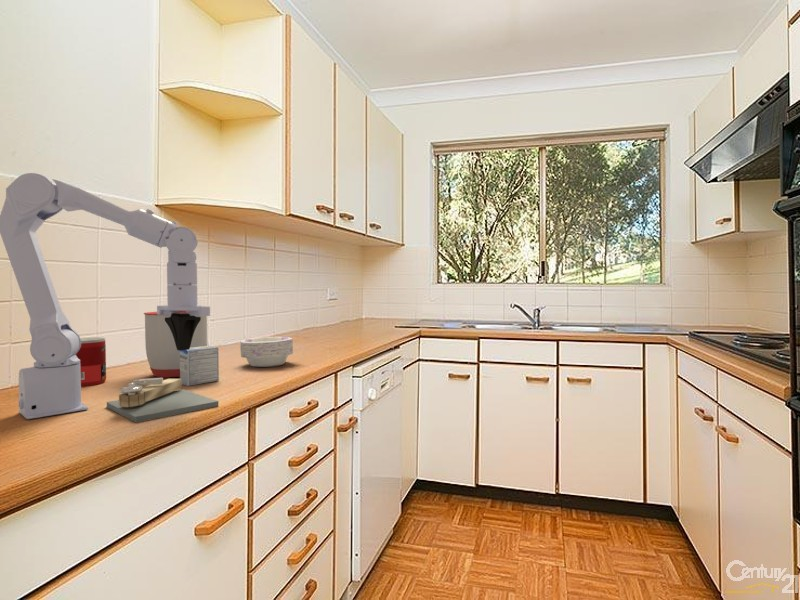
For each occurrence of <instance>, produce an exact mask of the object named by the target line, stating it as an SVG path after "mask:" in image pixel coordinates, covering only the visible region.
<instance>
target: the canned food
mask: <svg viewBox="0 0 800 600" xmlns="http://www.w3.org/2000/svg"><path fill="white" fill-rule="evenodd" d="M80 338H81V347H80V349H79V351H78V352H77V353H76V354H75V355H76V356H77V358H78V359H80V371H81V387H90V386H96V385H101V384H104V383H105V382H106V380H107V349H106V344H107V343H106V338H105V337H93V336H92V337H80Z"/></svg>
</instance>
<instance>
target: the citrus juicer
mask: <svg viewBox="0 0 800 600" xmlns="http://www.w3.org/2000/svg"><path fill="white" fill-rule="evenodd" d="M177 313H191V312H186V311H180V312H177ZM143 315H144V334H145V335H144V336H145V337H144V341H145V352H146V360H147V362H148V364H149V369H150V372H151V374H152V376H154V377H156V378H163V379H172V378H177V377H179V378H180V350H177V348H176V344H175V341H174V337H173V335H172V332H171V330H170V328H169V326H168V325H167V323H166V322H165V318H166V317H170V316H171V315H164V314H163V315H157V311H147V312H144V313H143ZM196 317H201V320H200V322H199V323H198V325H197V327H196V329H195V332H194V334H193V338H192V342H191V346H190V348H192V347H201V346H208V316H196Z"/></svg>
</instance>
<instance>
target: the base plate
mask: <svg viewBox="0 0 800 600" xmlns="http://www.w3.org/2000/svg"><path fill="white" fill-rule="evenodd" d="M215 407H217V408H218V407H219V400H216V399H213V398H211V397H208V396H205V395H202V394H199V393H195V392H192V391H190V390H187V389H178V390H175V391H173V392H170V393H168V394H165V395H162V396H160V397H157V398H155V399H152V400H150V401H147V402H145V403H144V404H142V405H138V406H136V407H133V408H128V407H120V406H119V399H117V400H116V399H115V400H112V401H106V408H108V409H110V410H111V411H113V412H115V413H117V414H118V415H121V416H122V417H125V418H126V419H128V420H129V421H132V422H134V423H140V422H145V421H150V420H155V419H160V418H165V417H166V418H167V417H169V416H170V417H171V416H175V415H181V414H185V413H190V412H195V411H200V410H205V409H210V408H215Z"/></svg>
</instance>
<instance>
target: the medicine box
mask: <svg viewBox="0 0 800 600" xmlns="http://www.w3.org/2000/svg"><path fill="white" fill-rule="evenodd" d="M219 357H220V356H219V347H218V346H214V345H207V346H201V347H192V348H190V349H189V350H182V351H181V350H180V376H179V379H182V386H187V387H189V386H195V385H200V384H202V385H203V384H206V383H212V382H218V381H219V380H220V375H219V374H220V371H219V368H220V365H219V362H220V361H219Z"/></svg>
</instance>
